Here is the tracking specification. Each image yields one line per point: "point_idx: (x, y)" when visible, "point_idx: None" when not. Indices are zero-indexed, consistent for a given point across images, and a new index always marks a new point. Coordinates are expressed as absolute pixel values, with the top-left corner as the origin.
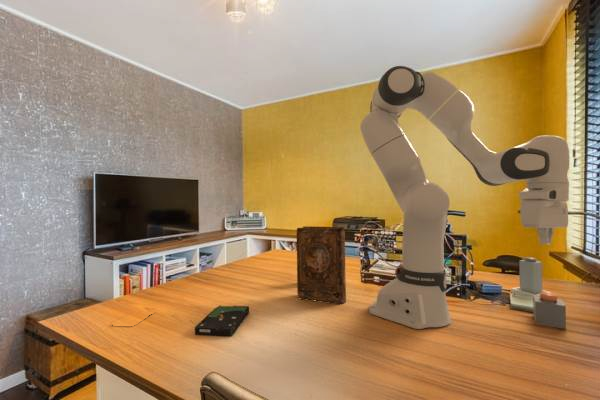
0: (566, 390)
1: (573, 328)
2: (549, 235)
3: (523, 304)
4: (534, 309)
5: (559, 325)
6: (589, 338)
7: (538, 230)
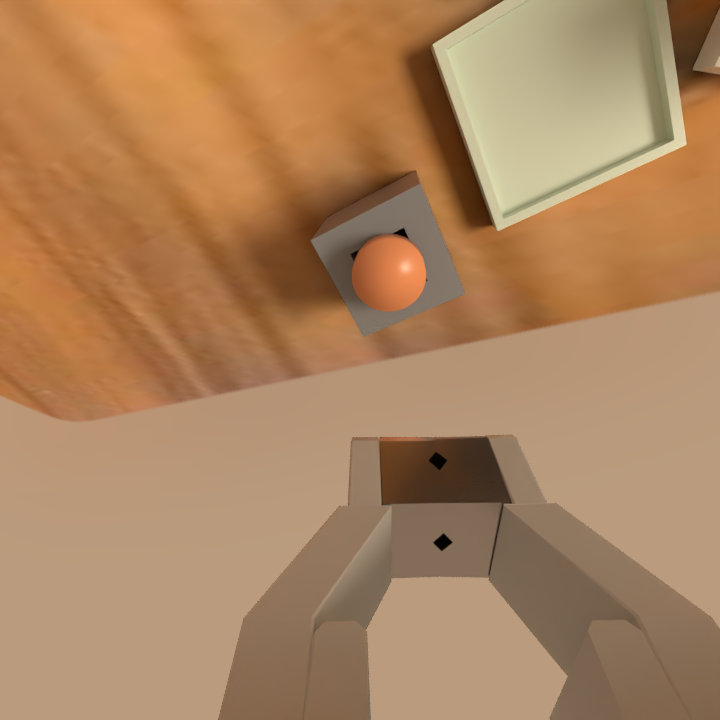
0: (26, 398)
1: None
2: (527, 600)
3: (512, 78)
4: (359, 206)
5: None
6: (352, 357)
7: (238, 660)
